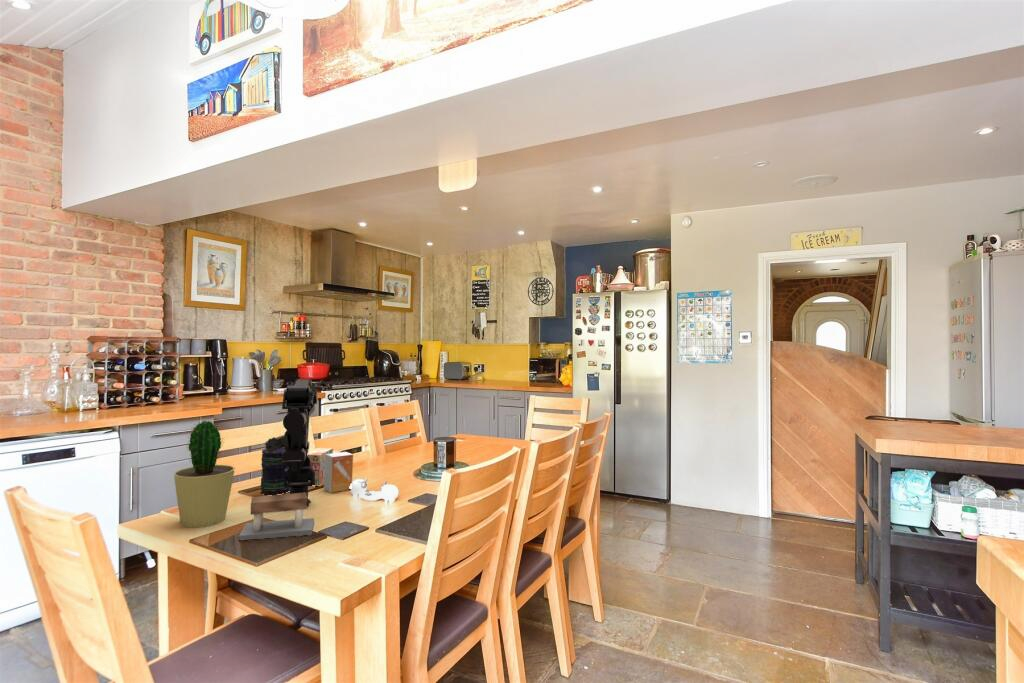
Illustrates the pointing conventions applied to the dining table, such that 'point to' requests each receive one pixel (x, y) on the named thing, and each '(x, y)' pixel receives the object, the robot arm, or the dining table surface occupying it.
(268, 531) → the grey base with posts
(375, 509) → the dining table surface
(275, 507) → the shelf board
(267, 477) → the storage jar
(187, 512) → the potted cactus
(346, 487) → the small box
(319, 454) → the patterned carton
